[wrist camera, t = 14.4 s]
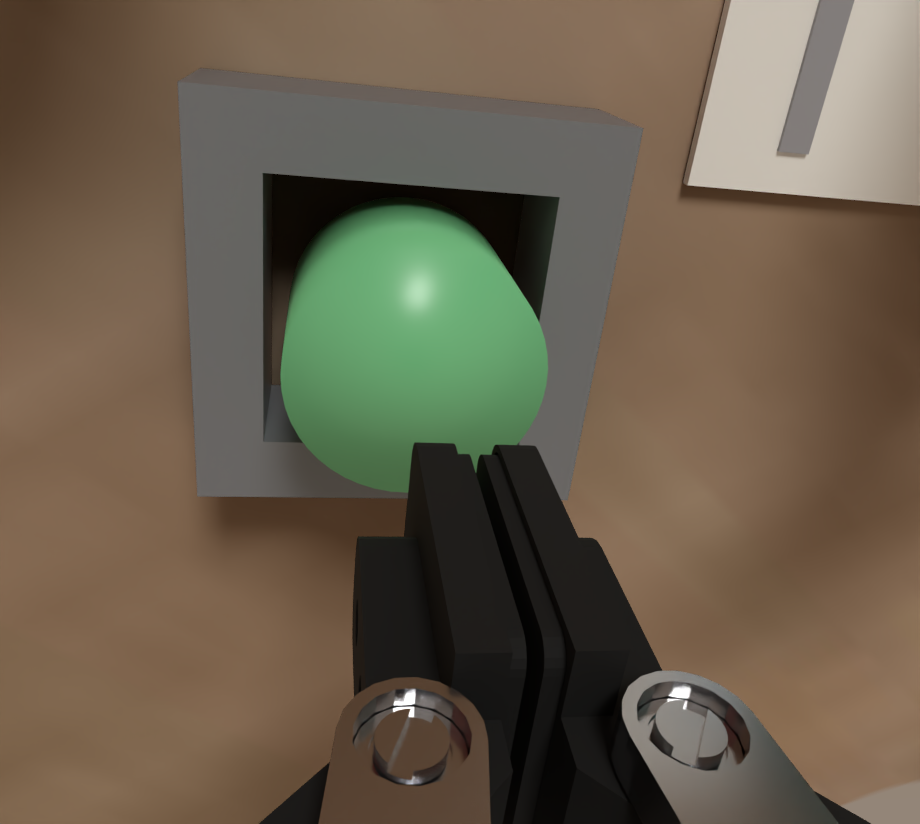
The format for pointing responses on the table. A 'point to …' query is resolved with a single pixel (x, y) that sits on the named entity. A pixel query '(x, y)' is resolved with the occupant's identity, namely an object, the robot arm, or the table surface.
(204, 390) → the button housing
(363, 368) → the button
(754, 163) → the drawing sheet
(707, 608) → the table surface
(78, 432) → the table surface
